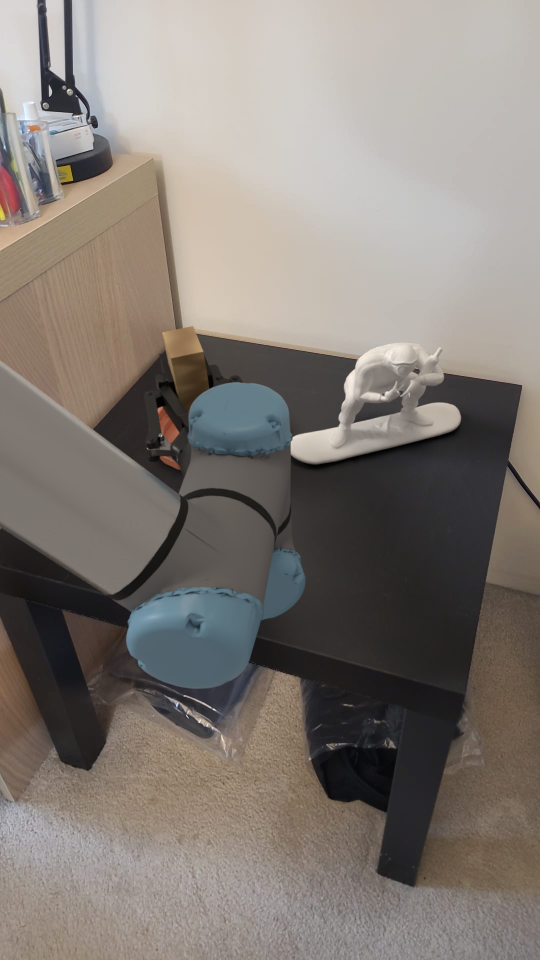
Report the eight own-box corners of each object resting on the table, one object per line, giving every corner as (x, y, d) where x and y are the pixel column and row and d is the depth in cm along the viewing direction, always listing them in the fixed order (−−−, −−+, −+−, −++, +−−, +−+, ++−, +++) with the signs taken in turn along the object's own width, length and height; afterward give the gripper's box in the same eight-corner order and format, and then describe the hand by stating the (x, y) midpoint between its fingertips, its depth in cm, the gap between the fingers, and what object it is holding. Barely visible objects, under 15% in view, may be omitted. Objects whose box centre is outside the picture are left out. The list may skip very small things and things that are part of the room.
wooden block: (189, 451, 82) (170, 358, 73) (180, 423, 87) (162, 332, 78) (218, 444, 83) (203, 351, 74) (208, 416, 87) (193, 325, 78)
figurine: (308, 492, 87) (309, 380, 76) (274, 435, 96) (271, 327, 85) (483, 447, 93) (508, 336, 82) (436, 397, 102) (452, 292, 91)
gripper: (143, 525, 67) (118, 397, 85) (305, 491, 71) (249, 375, 88) (131, 467, 63) (106, 344, 80) (306, 433, 66) (246, 322, 83)
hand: (181, 360), depth 84 cm, fingers closed on wooden block, 4 cm apart
